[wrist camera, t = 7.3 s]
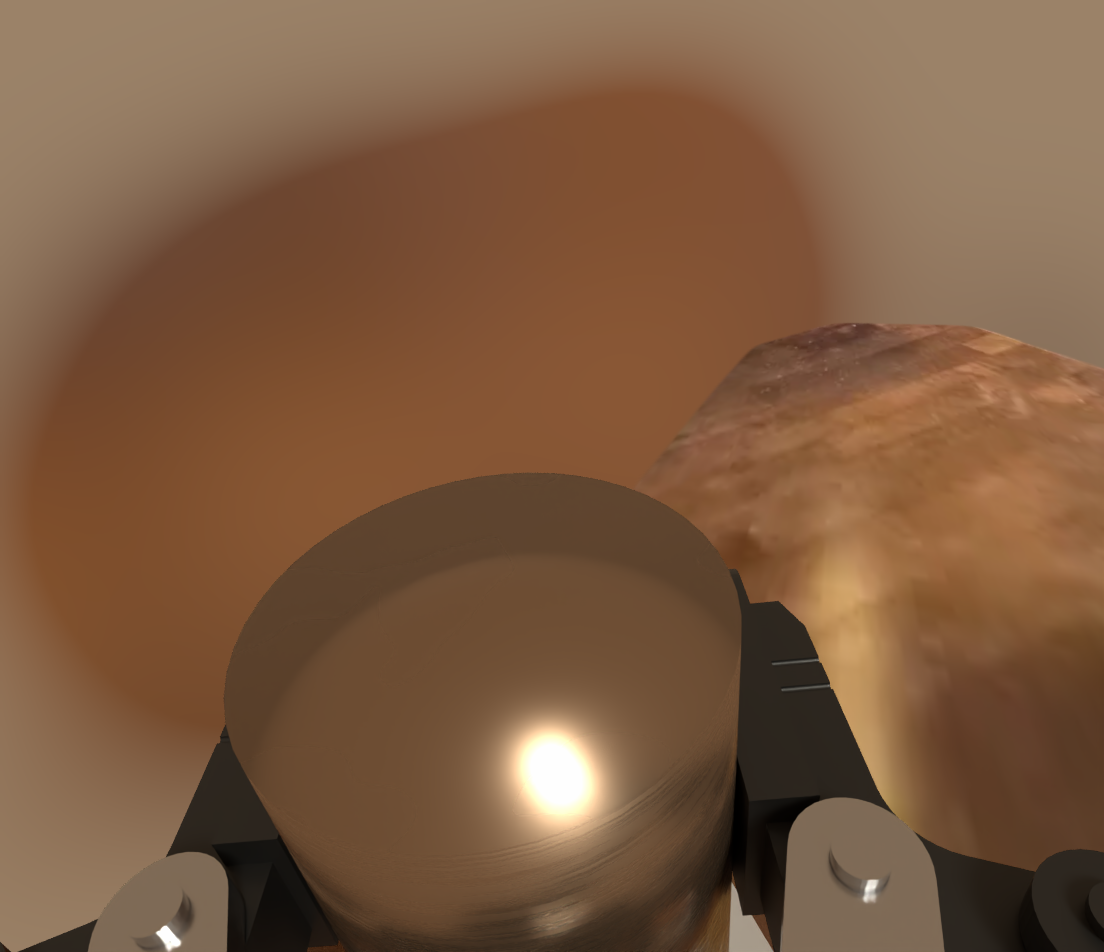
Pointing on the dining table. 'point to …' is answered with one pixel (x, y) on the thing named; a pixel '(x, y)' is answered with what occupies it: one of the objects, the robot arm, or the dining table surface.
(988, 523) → the dining table surface
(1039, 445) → the dining table surface
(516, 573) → the plunger
